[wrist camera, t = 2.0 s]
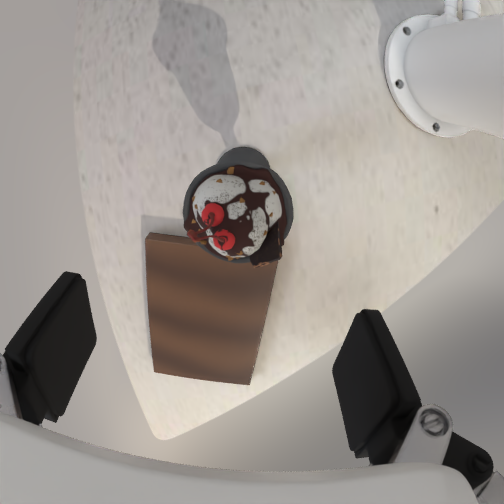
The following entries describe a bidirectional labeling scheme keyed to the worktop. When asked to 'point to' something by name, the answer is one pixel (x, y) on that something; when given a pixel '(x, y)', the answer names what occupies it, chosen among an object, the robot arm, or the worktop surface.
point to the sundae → (239, 209)
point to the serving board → (204, 310)
